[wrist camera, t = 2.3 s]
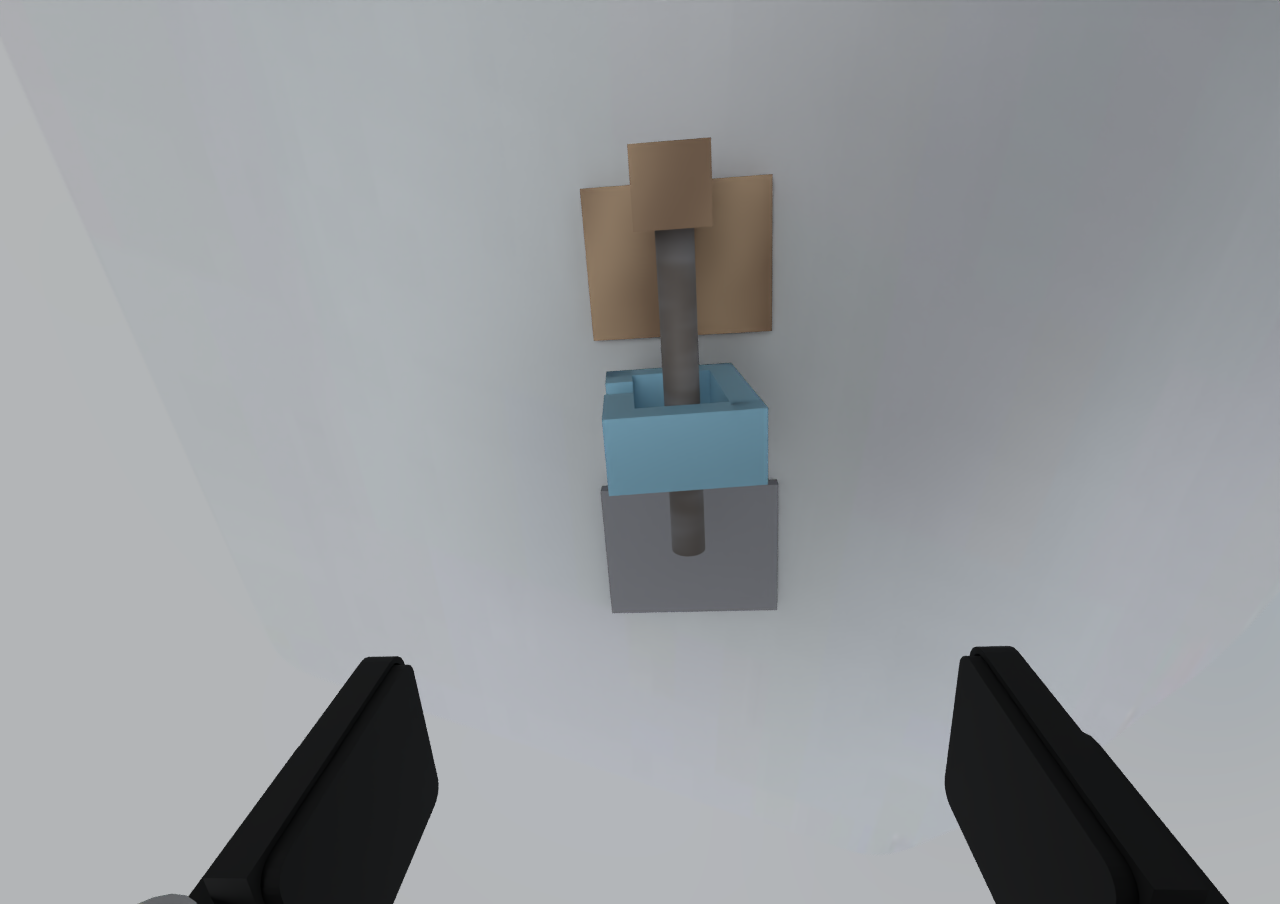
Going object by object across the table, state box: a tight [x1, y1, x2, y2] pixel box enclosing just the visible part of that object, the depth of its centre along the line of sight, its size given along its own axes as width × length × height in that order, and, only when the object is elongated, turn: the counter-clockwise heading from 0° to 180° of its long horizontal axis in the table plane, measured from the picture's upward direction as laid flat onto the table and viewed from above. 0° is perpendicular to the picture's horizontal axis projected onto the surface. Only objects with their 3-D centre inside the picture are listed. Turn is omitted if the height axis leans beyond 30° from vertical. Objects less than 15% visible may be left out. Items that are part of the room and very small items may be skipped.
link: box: [602, 363, 768, 496], centre depth 27 cm, size 6×3×8 cm, turn 94°
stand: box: [580, 137, 772, 557], centre depth 28 cm, size 10×15×17 cm, turn 4°
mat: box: [601, 480, 778, 613], centre depth 41 cm, size 11×9×1 cm
